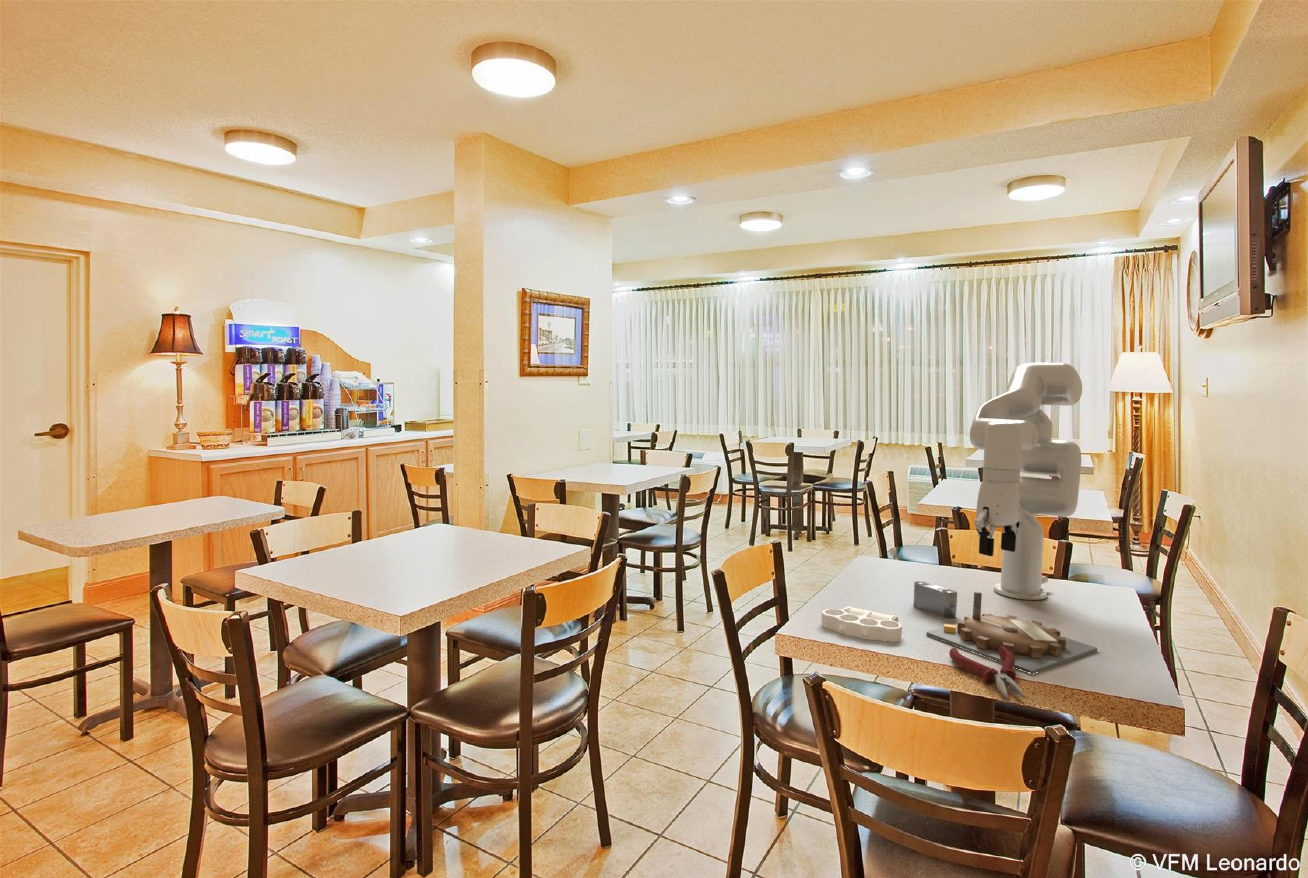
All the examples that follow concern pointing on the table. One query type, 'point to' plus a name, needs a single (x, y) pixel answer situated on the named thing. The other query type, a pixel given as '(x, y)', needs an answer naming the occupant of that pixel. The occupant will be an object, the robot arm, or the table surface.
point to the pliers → (991, 671)
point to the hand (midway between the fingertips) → (997, 552)
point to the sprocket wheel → (1010, 633)
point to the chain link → (935, 599)
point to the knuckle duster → (862, 623)
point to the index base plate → (1021, 661)
